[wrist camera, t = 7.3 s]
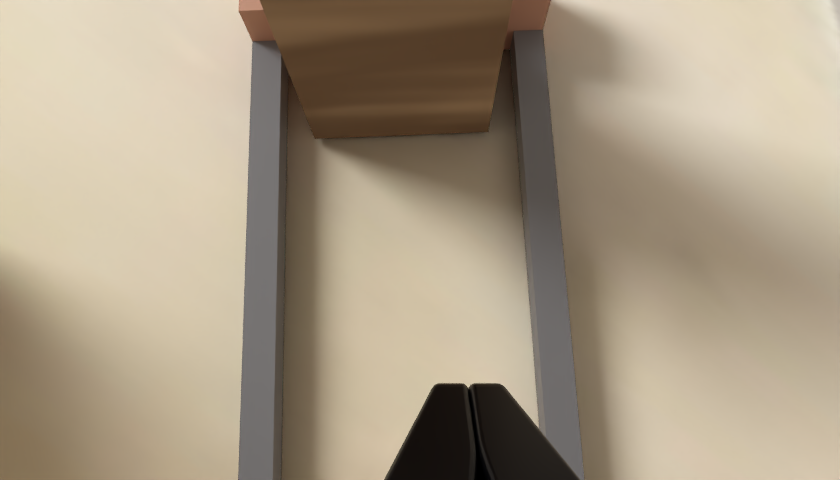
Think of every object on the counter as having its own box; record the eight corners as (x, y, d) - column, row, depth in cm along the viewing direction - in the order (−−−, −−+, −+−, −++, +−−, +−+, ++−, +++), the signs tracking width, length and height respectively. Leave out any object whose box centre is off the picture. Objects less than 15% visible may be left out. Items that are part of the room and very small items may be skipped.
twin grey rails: (579, 516, 21) (603, 529, 18) (247, 528, 21) (217, 543, 18) (532, -10, 26) (545, -66, 23) (262, 1, 26) (241, -54, 23)
